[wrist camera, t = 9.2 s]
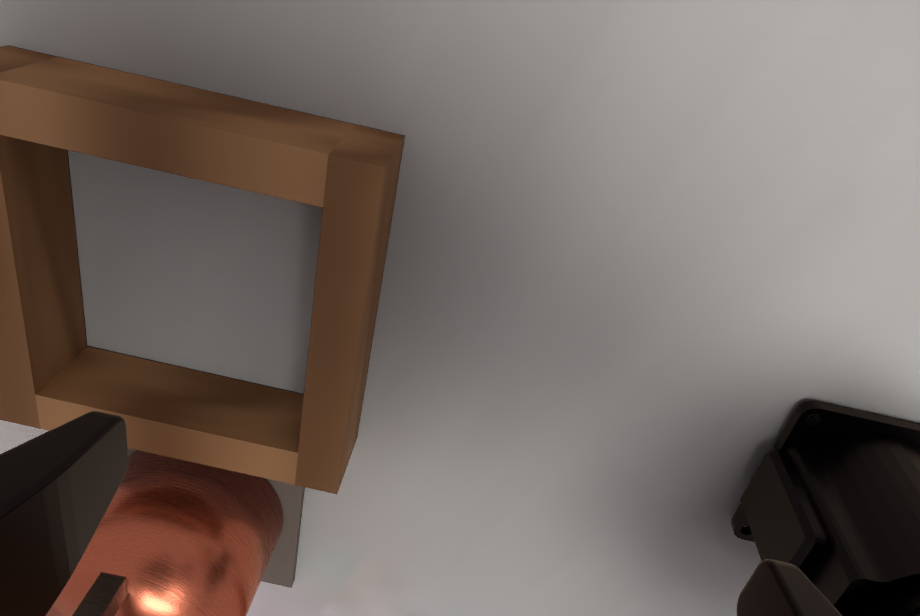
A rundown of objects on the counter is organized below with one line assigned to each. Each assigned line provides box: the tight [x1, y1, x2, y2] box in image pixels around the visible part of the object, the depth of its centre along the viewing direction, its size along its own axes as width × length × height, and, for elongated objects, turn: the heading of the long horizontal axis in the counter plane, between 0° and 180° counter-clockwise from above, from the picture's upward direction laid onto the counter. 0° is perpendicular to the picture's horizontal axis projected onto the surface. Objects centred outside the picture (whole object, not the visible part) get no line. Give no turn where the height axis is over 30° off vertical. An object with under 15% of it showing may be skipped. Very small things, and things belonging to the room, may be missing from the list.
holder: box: [0, 46, 405, 494], centre depth 22 cm, size 12×12×3 cm
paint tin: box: [46, 450, 283, 616], centre depth 24 cm, size 7×7×10 cm
